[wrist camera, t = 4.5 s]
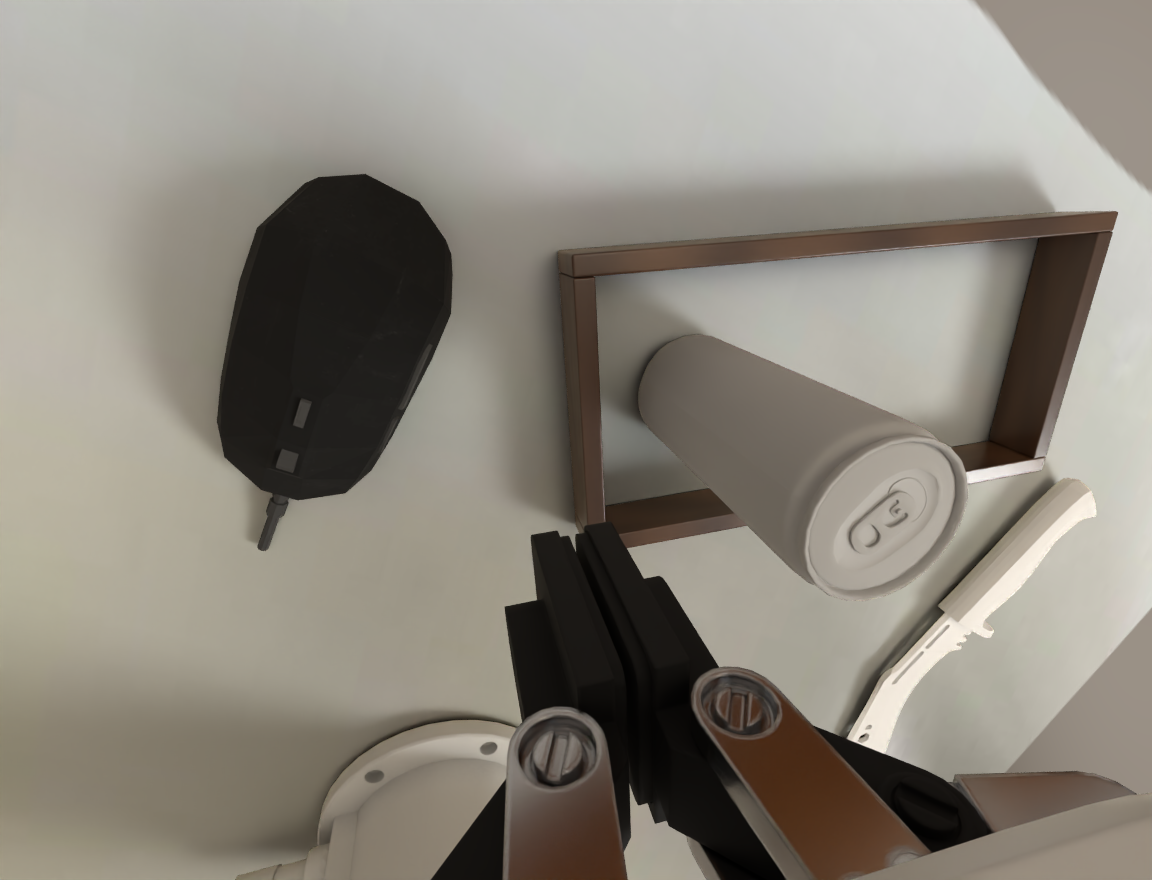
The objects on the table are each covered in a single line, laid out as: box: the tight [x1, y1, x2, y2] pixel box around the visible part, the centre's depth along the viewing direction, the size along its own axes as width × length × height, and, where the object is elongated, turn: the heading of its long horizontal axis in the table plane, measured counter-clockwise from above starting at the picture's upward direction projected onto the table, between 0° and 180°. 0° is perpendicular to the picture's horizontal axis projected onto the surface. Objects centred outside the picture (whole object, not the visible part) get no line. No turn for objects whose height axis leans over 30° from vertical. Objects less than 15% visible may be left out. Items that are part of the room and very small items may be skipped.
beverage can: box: [638, 334, 968, 601], centre depth 19 cm, size 5×5×12 cm
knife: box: [847, 478, 1096, 754], centre depth 35 cm, size 30×2×8 cm
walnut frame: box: [558, 211, 1118, 548], centre depth 24 cm, size 24×12×2 cm, turn 93°
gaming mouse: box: [217, 174, 453, 551], centre depth 19 cm, size 6×15×4 cm, turn 153°
